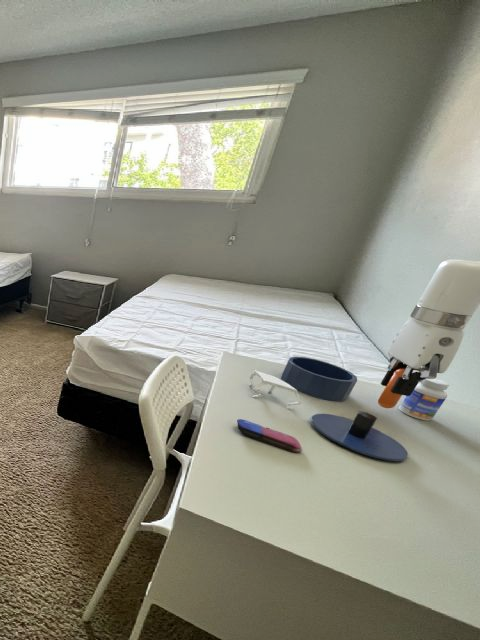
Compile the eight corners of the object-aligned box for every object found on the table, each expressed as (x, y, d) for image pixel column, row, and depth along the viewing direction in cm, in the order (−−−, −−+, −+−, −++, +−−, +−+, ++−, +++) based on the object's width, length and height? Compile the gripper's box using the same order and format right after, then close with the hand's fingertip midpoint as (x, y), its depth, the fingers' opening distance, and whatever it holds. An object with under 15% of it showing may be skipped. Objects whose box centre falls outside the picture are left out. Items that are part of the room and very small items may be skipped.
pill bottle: (411, 418, 85) (433, 384, 81) (391, 406, 90) (411, 373, 86) (438, 423, 84) (462, 388, 80) (417, 410, 89) (438, 377, 85)
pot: (330, 382, 100) (339, 363, 98) (358, 406, 88) (369, 386, 86) (273, 370, 105) (281, 352, 103) (292, 392, 93) (301, 373, 91)
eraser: (298, 445, 73) (302, 438, 72) (302, 456, 69) (306, 449, 69) (233, 422, 78) (236, 416, 77) (234, 432, 75) (238, 425, 74)
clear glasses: (235, 390, 92) (242, 374, 90) (248, 383, 96) (255, 367, 95) (293, 415, 83) (301, 398, 81) (304, 405, 87) (312, 389, 85)
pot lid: (377, 428, 80) (390, 406, 78) (425, 473, 67) (443, 448, 65) (297, 410, 85) (308, 389, 83) (329, 448, 72) (342, 424, 70)
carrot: (387, 405, 84) (410, 368, 80) (395, 412, 82) (419, 373, 78) (372, 402, 85) (394, 365, 81) (379, 408, 83) (402, 370, 79)
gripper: (499, 334, 67) (444, 413, 73) (433, 310, 81) (392, 378, 87) (445, 326, 69) (396, 403, 76) (390, 304, 83) (353, 371, 90)
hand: (394, 389), depth 82 cm, fingers closed on carrot, 2 cm apart
